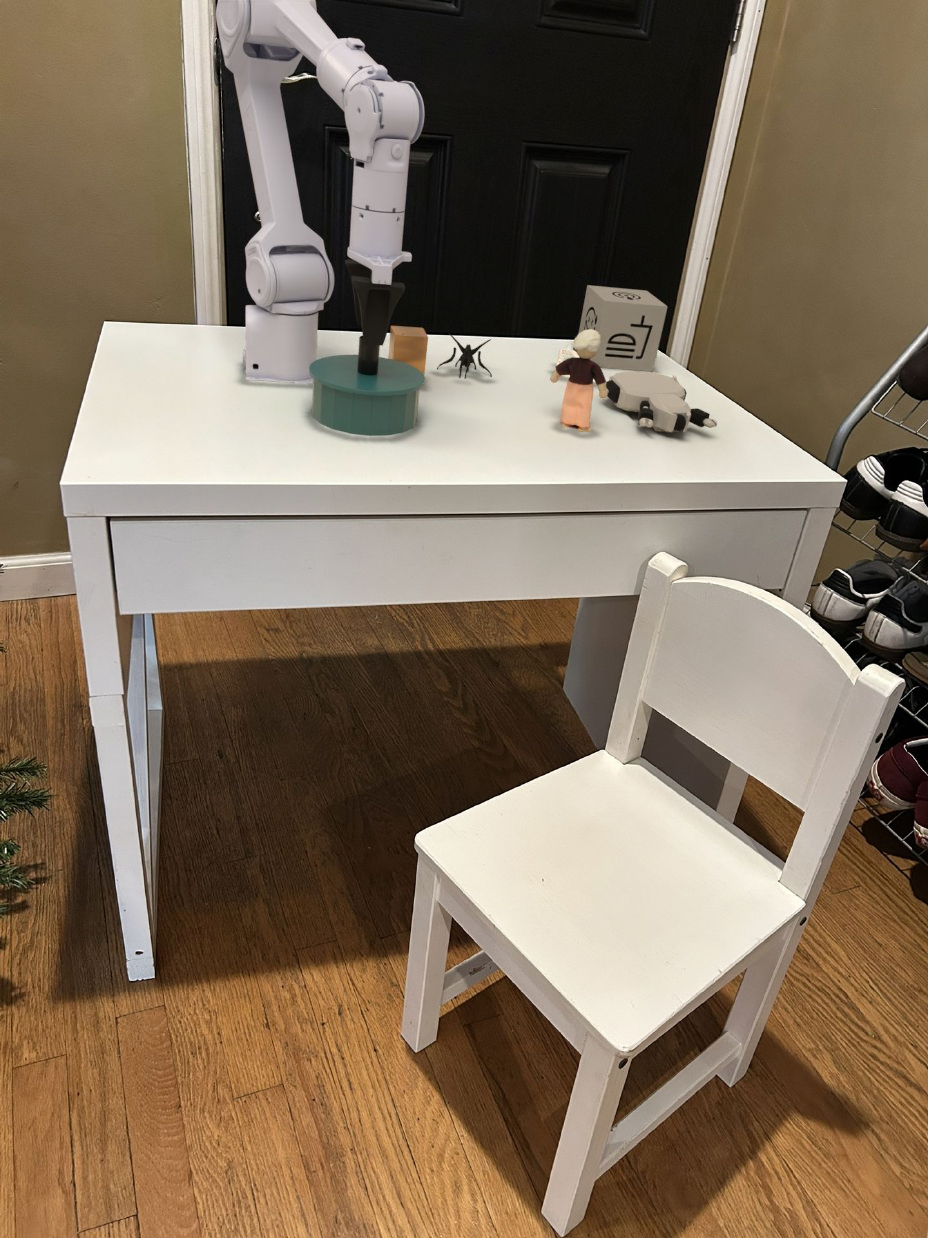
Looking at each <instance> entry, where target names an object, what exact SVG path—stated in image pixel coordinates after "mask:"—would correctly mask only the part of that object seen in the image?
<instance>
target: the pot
mask: <svg viewBox="0 0 928 1238" xmlns="http://www.w3.org/2000/svg"><path fill="white" fill-rule="evenodd" d="M312 382H313V383H312V400H311V402H312V403H311V415H312V418H313V419H314V420H315V421H316V422H318V423H319V424H320V425H322V426H325V427H327V428H329V429H331V430H334V431H338V432H341V433H342V432H343V433H346V434H351V435H356V436H357V435H358V436H369V437H375V436H379V437H381V436H382V437H383V436H392V435H393V436H394V435H398V434H403V433H406V432H408V431H410V430H412V429H414V427H415V426H416V424H417V421H418V409H419V401H420V399H419V398H420V390H421V388H420V389H419V390H417V391H414V392H411V393H406V394H400V395H389V396H378V395H363V394H356V393H350V392H345V391H340V390H337V389H333V388H330V387H327V386H325V385H323V384H321V383H319V382H317V381H315V380H314V379H313V381H312Z"/></svg>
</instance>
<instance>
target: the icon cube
mask: <svg viewBox="0 0 928 1238" xmlns="http://www.w3.org/2000/svg"><path fill="white" fill-rule="evenodd" d="M584 296H585V298H584V302H583V307H582V313H581V318H580V324H579V329H578V334H579V333H580V332H583V331H584V330H588V329H592V330H595V331H597V332H598V333H599V334H600V337H601V339H600V342H601V343H600V344H599V347H598V350H597V353H596V355H595V356H594V357H593V358H591V359H589V360H591V361H593V362H595V363H596V364H598V365H599V366H600V368H601V369H616V370H617V369H618V370H628V371H629V370H630V371H640V372H654V368H655V364H656V360H657V355H658V351H659V347H660V343H661V338H662V334H663V333H662V332H663V330H664V329H663V328H664V324H665V321H666V315H667V312H668V311H667V310H668V305H666V304H665V303H664V302H662V301H661V300H660V299H658V298H657V297H656V296H654V295H653V294H652V293H650V291H648V290H643V289H634V288H633V289H632V288H622V287H611V286H610V287H609V286H601V285H588V284H587V285H586V290H585V295H584Z"/></svg>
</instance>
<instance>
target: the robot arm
mask: <svg viewBox="0 0 928 1238" xmlns="http://www.w3.org/2000/svg"><path fill="white" fill-rule="evenodd" d="M317 11H318V9H317V1H316V0H217V4H216V9H215V20H216V25H217V30H218V35H219V41H220V46H221V51H222V55H223V60H224V66H225V67H226V69H228V70H229V71H230V72H231V73H232V74H233V79H234V84H235V89H236V90H235V91H236V96H237V100H238V106H239V111H240V116H241V122H242V128H243V133H244V138H245V144H246V149H247V154H248V161H249V165H250V171H251V175H252V182H253V187H254V193H255V198H256V203H257V209H258V213H259V219H260V225H261V228H260V229H259V230H258V231H257V232H256V233H255V234H254V235H253V237H251V239H250V240H249V241H248V243H246V246H245V248H244V253H245V261H246V269H245V282H246V288H247V291H248V293H249V295H250V297H251V299H252V300H253V301H254V303H255V304H247V305H245V348H243V349H242V364H243V365H245V380H246V381H250V382H251V381H252V382H268V383H271V382H272V383H287V384H295V383H300V384H301V383H302V384H313V378H312V377H311V376H310V374H309V366H310V364H311V363H312V362H314V361H315V360H317V353H318V331H319V330H318V329H319V328H318V327H319V311H323V310H324V305H325V303H326V302H328V301H329V300H330V299H331V296H332V294H333V291H334V287H335V272H334V268H333V266H332V263H331V262H330V259H329V257H328V255H327V252H326V249H325V248H326V247H325V243H324V239H323V238H322V237H321V236H320V235H319V234H318V233H316V232H315V231H313V229H311V228H310V226H308V225H307V224H305V222H304V218H303V212H302V206H301V200H300V195H299V189H298V183H297V177H296V172H295V167H294V161H293V156H292V149H291V144H290V138H289V131H288V126H287V122H286V115H285V110H284V104H283V98H282V97H283V96H282V93H281V84H282V81H283V80H284V79H286V78H288V77H289V76H292V75H293V74H294V73H295V71H296V69H297V67H298V65H299V63H300V61H302V58H303V57H304V58H306V59H307V60H308V61H310V62H311V63H312V64H313V65H314V66H315V67H316V72H315V73H316V79H317V82H318V83H319V86H320V88H322V89H323V91H325V93H326V94H327V95H328V96H329V97H330V98H331V99H332V100H333V101H334V102H335V104H336V105H337V106H338V107H339V108H340V109H341V110H342V111H343V112H344V121H345V126H346V129H347V133H348V137H349V148H348V149H349V152H350V157H351V158H352V159H353V176H352V193H351V210H350V211H351V214H350V228H349V229H350V231H349V245H348V247H347V253H346V254H347V257H348V258H350V259H345V260H344V264H345V266H346V267H347V271H348V274H349V277H350V282H351V287H352V292H353V300H354V301H353V302H354V311H355V317H356V322H357V326H358V327H361V333H362V336H363V339H364V343H365V344H366V345H380V347H381V346H382V347H383V345H384V343H385V340H386V339H387V338H386V337H387V334H388V331H389V327H390V323H391V320H392V316H393V313H394V311H395V308H396V306H397V304H398V303H399V300H400V299H401V297H402V296H403V294H404V292H405V290H406V285H405V283H403V282H395V281H392V280H393V272H394V271H395V268H396V267H397V266H399V265H400V264H402V263H404V262H406V263H407V262H408V263H410V262H412V259H413V255H412V253H411V252H409V251H403V250H402V249H403V235H404V225H405V212H406V211H405V210H406V201H407V189H408V188H407V187H408V176H409V175H408V174H409V163H410V151H411V144H414V143H415V142H416V141H418V139H419V137H420V135H421V134H422V131H423V128H424V123H425V105H424V100H423V97H422V95H421V94H422V93H420V90H418V88H417V86H416V84H415V82H412V81H408V80H402V81H396V80H394V79H393V78H392V77H391V76H390V75H389V74H388V69H387V68H386V67H385V66H384V65H382V64H378V63H377V62H376V61H375V60H374V59H373V58H372V57H371V56H370V54H368V53H367V52H366V51H365V47H366V45H365V43H364V42H363V41H362V40H361V39H360V38H355V37H348V38H346V37H344V38H343V37H342V38H338V37H337V36H336V34H335V33H334V32H333V31H332V29H331V28H330V27H329V25H327V22H325V20H324V19H323V18H322V17H321V15H320V14H319V13H318V12H317Z"/></svg>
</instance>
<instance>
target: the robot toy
mask: <svg viewBox="0 0 928 1238" xmlns="http://www.w3.org/2000/svg"><path fill="white" fill-rule="evenodd" d="M606 392H607V397H606V398H608V399H609V400H610V401H611V402H612V403H613V404H614V405H615V406H616V408H617V409H620V410H622V411H623V412H627V413H630V412H636V413H638V415H637V416H638V418H637V421H638V423H637V424H638V426H640V427H643V428H650V429H651V428H653V429H654V431H655V432H657V433H658V432H659V433H676V432H682V433H685V432H687V430H688V427H689V423H691V424H693V425H695V426H697V427H699V428H704V427H706V428H709V429H712V428H716V427H717V426H718V421H717V420H716V419H715V418H710V413H709V412H707V411H704V410H703V409H700V408H691V407H690V405H689V403H688V402H687V401H686V398H687V391H686V388H684V386H683V385H682V384H681V383H680V382H679V380H678V379H677V376H676V375H674V374H673V375H672V377H671V376H668V375H665V374H661V373H655V372H649V371H638V370H635V371H623V372H622V371H621V372H617V373H615V374H613V375H611V376H609V378H608V380H606Z"/></svg>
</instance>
